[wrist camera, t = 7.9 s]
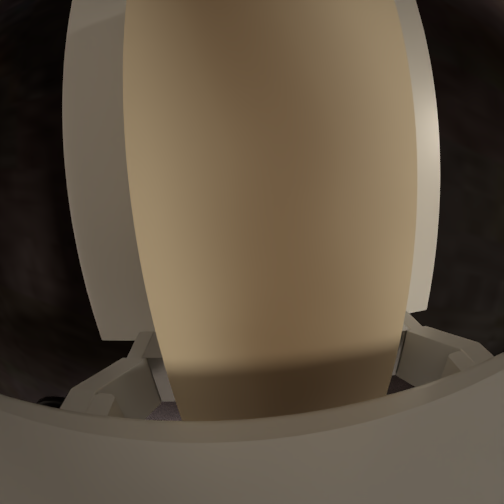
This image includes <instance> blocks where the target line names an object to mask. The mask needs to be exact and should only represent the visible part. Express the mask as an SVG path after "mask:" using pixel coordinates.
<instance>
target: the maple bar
mask: <svg viewBox="0 0 504 504" xmlns="http://www.w3.org/2000/svg"><path fill="white" fill-rule="evenodd" d="M123 114H124V134H125V149H126V161H127V172H128V181H129V190H130V199H131V206H132V214H133V221H134V227H135V234H136V240H137V246H138V252H139V258H140V263H141V268H142V274H143V279H144V284H145V288H146V293H147V298H148V302H149V307H150V311H151V315H152V319H153V324H154V328H155V332H156V336H157V339H158V343H159V347H160V351H161V354H162V358H163V361H164V365H165V368H166V372H167V375H168V379H169V382H170V385H171V388H172V391H173V395H174V398H175V401H176V404H177V407H178V410H179V413H180V416H181V419H182V421H222V420H241V419H254V418H265V417H275V416H284V415H291V414H299V413H305V412H312V411H318V410H324V409H329V408H335V407H340V406H345V405H349V404H354V403H358V402H363V401H367V400H371V399H375V398H379V397H383V396H386V394H387V391H388V387H389V383H390V380H391V376H392V372H393V368H394V364H395V360H396V356H397V352H398V347H399V343H400V338H401V333H402V328H403V323H404V318H405V312H406V307H407V301H408V294H409V287H410V280H411V272H412V264H413V254H414V244H415V231H416V214H417V142H416V125H415V113H414V102H413V93H412V85H411V78H410V71H409V65H408V59H407V53H406V48H405V43H404V38H403V33H402V29H401V24H400V20H399V16H398V12H397V8H396V4H395V1H394V0H126V11H125V24H124V42H123Z"/></svg>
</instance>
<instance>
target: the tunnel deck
mask: <svg viewBox="0 0 504 504" xmlns="http://www.w3.org/2000/svg"><path fill="white" fill-rule="evenodd" d="M394 1H395V4H396V8H397V12H398V16H399V20H400V24H401V29H402V33H403V38H404V43H405V48H406V53H407V59H408V65H409V71H410V78H411V85H412V93H413V102H414V113H415V125H416V142H417V214H416V231H415V244H414V254H413V264H412V272H411V280H410V287H409V294H408V301H407V307H406V311H407V312H408V313H412V312H417V311H422V310H426V309H427V304H428V299H429V293H430V287H431V281H432V275H433V268H434V260H435V252H436V243H437V232H438V219H439V201H440V145H439V127H438V115H437V105H436V96H435V88H434V81H433V74H432V68H431V62H430V57H429V52H428V47H427V42H426V38H425V33H424V29H423V25H422V21H421V17H420V14H419V10H418V7H417V3H416V0H394ZM125 11H126V0H72V5H71V10H70V16H69V22H68V29H67V37H66V46H65V57H64V70H63V93H62V124H63V147H64V162H65V173H66V182H67V191H68V199H69V206H70V213H71V219H72V225H73V230H74V236H75V241H76V246H77V251H78V256H79V260H80V265H81V269H82V273H83V277H84V281H85V285H86V289H87V293H88V296H89V300H90V304H91V307H92V310H93V314H94V317H95V320H96V323H97V327H98V330H99V333H100V336H101V339H102V340H117V341H135V340H136V338H137V336H138V334H139V332H143V331H154V332H155V328H154V324H153V319H152V315H151V311H150V307H149V302H148V298H147V293H146V288H145V284H144V279H143V274H142V268H141V263H140V258H139V252H138V246H137V240H136V234H135V227H134V221H133V214H132V206H131V199H130V190H129V181H128V172H127V161H126V149H125V134H124V114H123V42H124V24H125Z"/></svg>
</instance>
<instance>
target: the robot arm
mask: <svg viewBox="0 0 504 504" xmlns="http://www.w3.org/2000/svg"><path fill="white" fill-rule="evenodd" d="M392 375H396V376H398V377H400V378H401V379H403V380H405V381H406V382H408V383H410V384H412V385H413V386H415V387H414V388H411V389H408V390H404V391H401V392H398V393H394V394H390V395H387V396H383V397H379V398H375V399H371V400H367V401H363V402H358V403H354V404H349V405H345V406H340V407H335V408H329V409H324V410H318V411H312V412H305V413H299V414H291V415H284V416H275V417H265V418H254V419H241V420H222V421H162V420H145V419H146V418H147V417H148V416H149V415H150V414H151V413H152V412H153V410H154V409H155V408H156V407H157V406H158V405H159V404H160V403H161V401H175V398H174V395H173V391H172V388H171V385H170V382H169V379H168V375H167V372H166V368H165V365H164V361H163V358H162V354H161V351H160V347H159V343H158V339H157V336H156V332H154V331H143V332H139V334H138V336H137V338H136V340H135V342H134V344H133V346H132V348H131V350H130V352H129V354H128V356H127V358H122V359H120V360H118V361H117V362H115V363H113V364H112V365H110V366H108V367H107V368H105V369H103V370H102V371H100V372H98V373H97V374H95V375H93V376H92V377H90V378H88V379H87V380H85V381H83V382H81V383H80V384H78V385H76V386H75V387H73V388H71V390H70V392H69V393H68V395H67V397H66V398H65V400H64V402H63V404H62V405H61V407H60V409H59V408H54V407H49V406H44V405H40V404H36V403H32V402H28V401H24V400H20V399H16V398H13V397H9V396H6V395H2V394H0V504H504V352H503V353H501V354H499V355H497V356H493V355H492V354H491V353H490V352H489V351H487V350H486V349H485V348H484V347H483V346H482V345H481V344H480V343H478V342H475V341H472V340H469V339H465V338H462V337H459V336H456V335H453V334H449V333H446V332H443V331H440V330H437V329H434V328H431V327H427V326H424V327H422V326H421V325H420V324H419V323H418V322H417V321H416V320H415V319H414V318H413V317H412V316H411V315H410V314H409V313H408V312H407V311H406V312H405V318H404V323H403V328H402V333H401V338H400V343H399V347H398V352H397V356H396V360H395V364H394V368H393V372H392Z"/></svg>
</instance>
